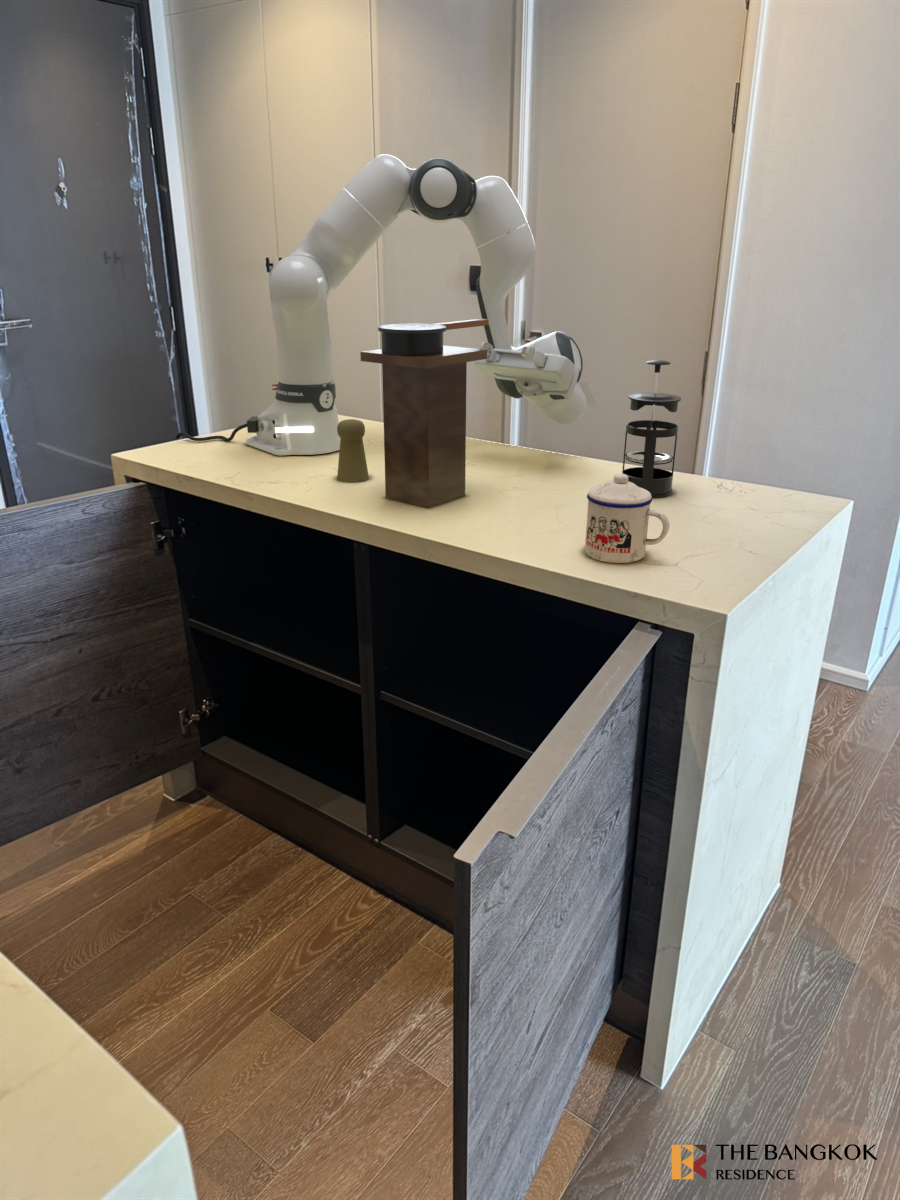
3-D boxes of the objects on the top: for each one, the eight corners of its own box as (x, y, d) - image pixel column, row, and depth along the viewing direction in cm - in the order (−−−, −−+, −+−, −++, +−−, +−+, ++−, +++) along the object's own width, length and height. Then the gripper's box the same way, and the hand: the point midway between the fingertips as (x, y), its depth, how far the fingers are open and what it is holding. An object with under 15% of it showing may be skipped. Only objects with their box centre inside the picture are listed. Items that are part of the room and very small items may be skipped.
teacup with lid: (573, 557, 124) (578, 477, 119) (597, 539, 131) (602, 464, 126) (654, 572, 118) (662, 490, 113) (674, 553, 125) (683, 475, 121)
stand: (365, 499, 151) (360, 351, 141) (424, 481, 162) (423, 343, 152) (426, 514, 142) (425, 358, 133) (484, 494, 154) (487, 349, 144)
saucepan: (364, 352, 140) (363, 326, 138) (460, 340, 158) (460, 317, 156) (415, 358, 133) (415, 331, 132) (509, 344, 151) (510, 320, 150)
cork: (367, 482, 161) (365, 423, 157) (335, 482, 161) (332, 423, 157) (370, 474, 167) (368, 417, 163) (339, 474, 167) (336, 417, 163)
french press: (673, 500, 151) (687, 365, 142) (618, 497, 152) (629, 363, 144) (671, 483, 161) (685, 356, 152) (620, 480, 163) (631, 355, 154)
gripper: (501, 359, 177) (465, 328, 166) (587, 369, 165) (555, 336, 154) (491, 388, 177) (455, 359, 166) (576, 400, 165) (544, 369, 154)
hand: (504, 348), depth 160 cm, fingers open, 8 cm apart
